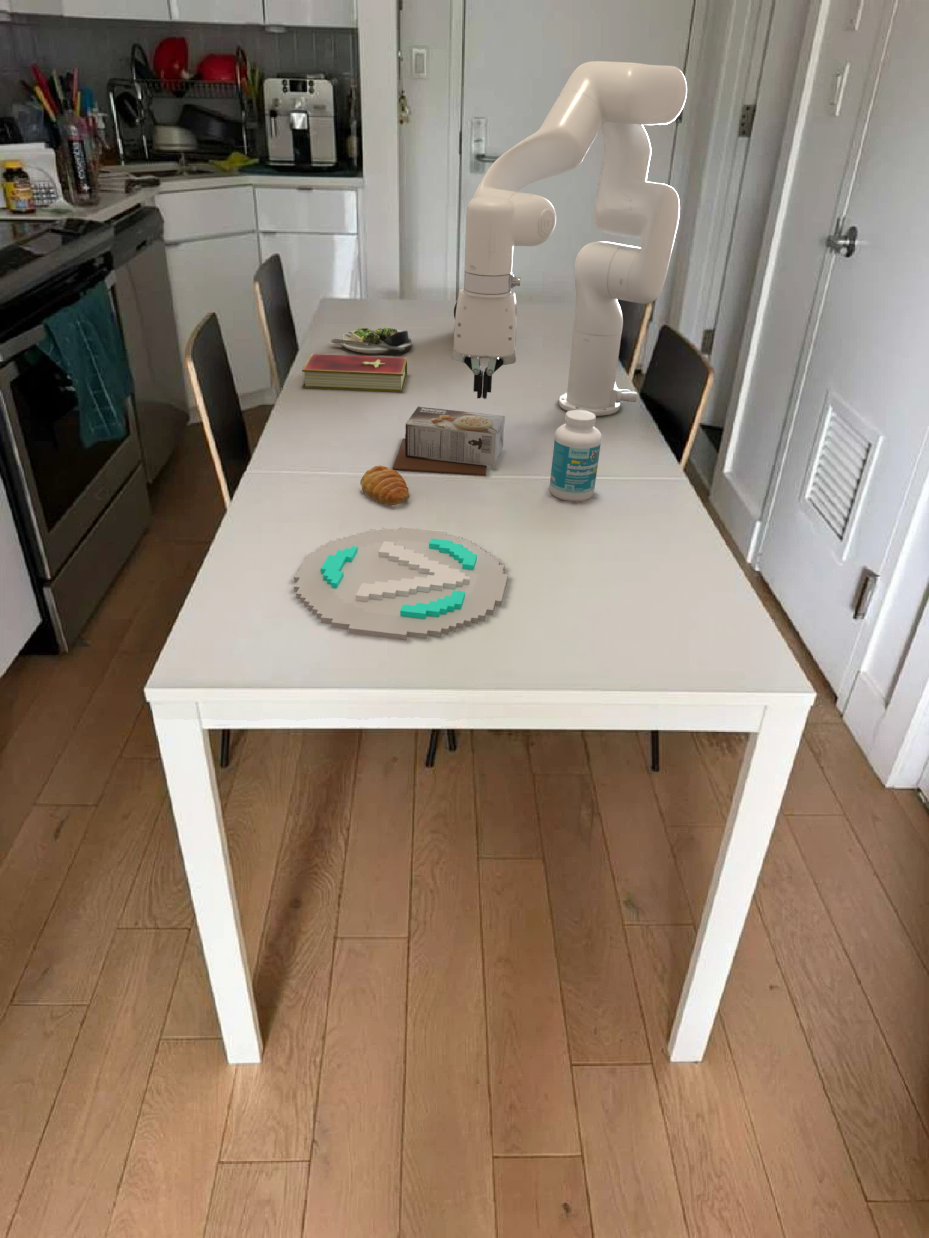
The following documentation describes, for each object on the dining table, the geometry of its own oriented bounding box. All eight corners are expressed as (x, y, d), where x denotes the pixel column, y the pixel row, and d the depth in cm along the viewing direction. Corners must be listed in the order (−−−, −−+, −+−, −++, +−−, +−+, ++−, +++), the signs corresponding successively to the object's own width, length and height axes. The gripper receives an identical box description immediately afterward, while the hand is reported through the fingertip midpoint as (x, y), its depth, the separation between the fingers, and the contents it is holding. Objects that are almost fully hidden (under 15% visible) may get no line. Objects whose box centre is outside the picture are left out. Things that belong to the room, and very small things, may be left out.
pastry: (420, 503, 140) (420, 481, 138) (382, 512, 137) (381, 490, 135) (392, 482, 147) (392, 460, 145) (356, 490, 144) (355, 468, 142)
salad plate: (332, 358, 205) (331, 337, 202) (329, 336, 219) (329, 317, 217) (415, 357, 208) (415, 337, 205) (407, 336, 222) (407, 317, 220)
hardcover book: (312, 371, 196) (311, 352, 194) (407, 375, 196) (407, 356, 194) (303, 388, 186) (301, 368, 183) (402, 392, 186) (402, 372, 184)
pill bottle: (564, 506, 142) (573, 425, 134) (540, 488, 147) (547, 410, 140) (603, 498, 145) (613, 419, 137) (577, 481, 150) (586, 404, 143)
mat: (489, 445, 162) (489, 443, 162) (485, 476, 151) (485, 473, 150) (402, 440, 163) (402, 438, 163) (392, 470, 151) (392, 468, 151)
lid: (489, 650, 107) (490, 639, 106) (267, 623, 110) (266, 612, 109) (516, 544, 130) (516, 534, 129) (332, 524, 133) (331, 515, 132)
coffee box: (503, 449, 160) (418, 438, 163) (505, 415, 157) (418, 405, 159) (493, 468, 153) (404, 457, 155) (495, 433, 149) (404, 422, 152)
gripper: (534, 281, 143) (526, 391, 153) (442, 276, 144) (440, 386, 154) (534, 291, 137) (525, 406, 147) (438, 286, 138) (436, 400, 147)
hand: (482, 395), depth 150 cm, fingers closed
